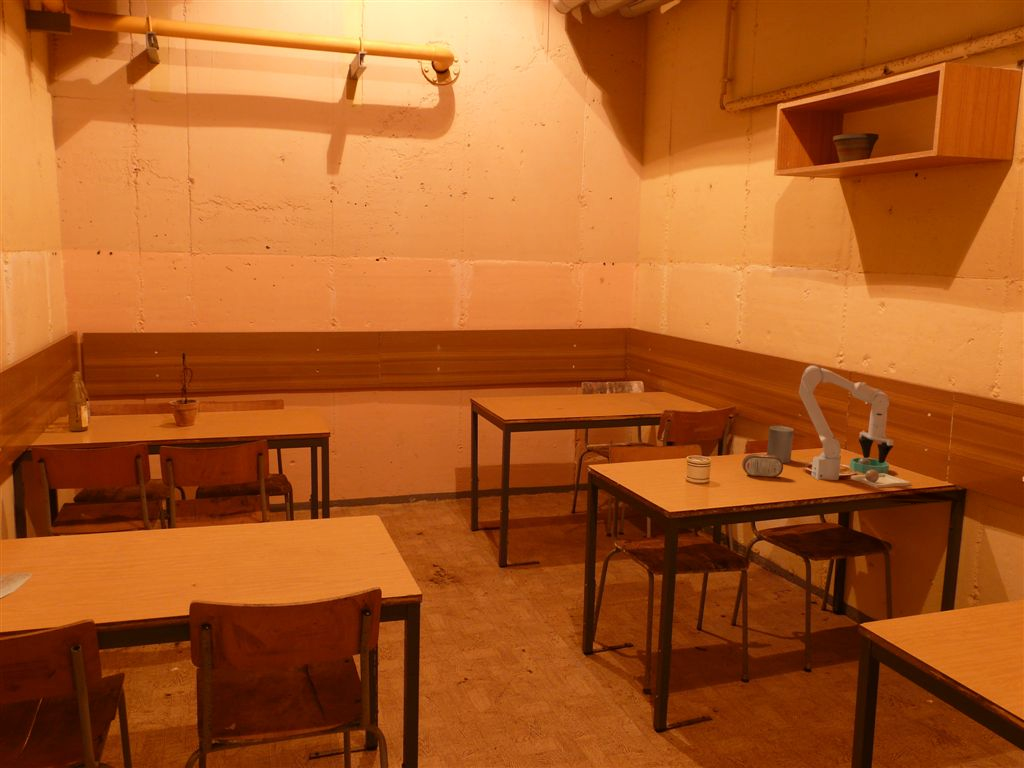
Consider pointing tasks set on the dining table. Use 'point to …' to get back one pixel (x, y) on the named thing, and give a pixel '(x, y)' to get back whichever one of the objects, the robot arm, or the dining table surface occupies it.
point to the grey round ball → (864, 461)
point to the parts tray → (882, 481)
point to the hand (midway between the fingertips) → (873, 460)
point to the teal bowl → (874, 466)
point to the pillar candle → (780, 442)
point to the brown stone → (872, 476)
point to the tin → (762, 465)
